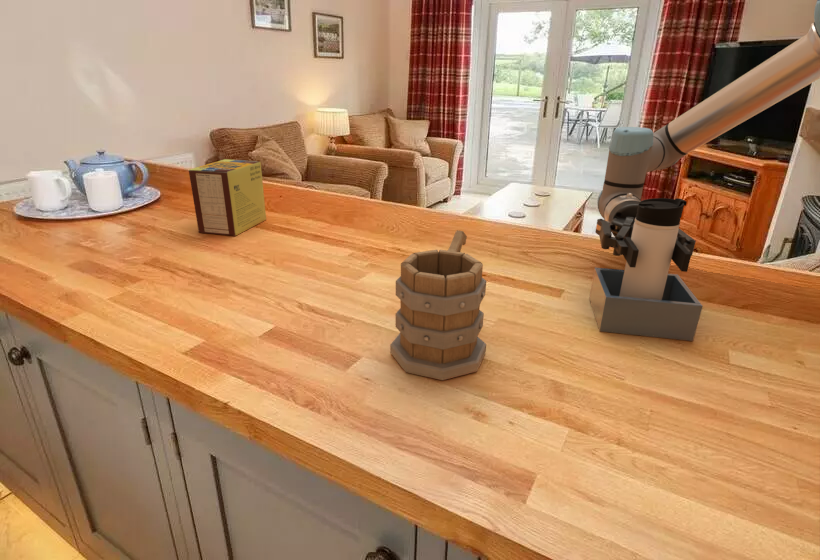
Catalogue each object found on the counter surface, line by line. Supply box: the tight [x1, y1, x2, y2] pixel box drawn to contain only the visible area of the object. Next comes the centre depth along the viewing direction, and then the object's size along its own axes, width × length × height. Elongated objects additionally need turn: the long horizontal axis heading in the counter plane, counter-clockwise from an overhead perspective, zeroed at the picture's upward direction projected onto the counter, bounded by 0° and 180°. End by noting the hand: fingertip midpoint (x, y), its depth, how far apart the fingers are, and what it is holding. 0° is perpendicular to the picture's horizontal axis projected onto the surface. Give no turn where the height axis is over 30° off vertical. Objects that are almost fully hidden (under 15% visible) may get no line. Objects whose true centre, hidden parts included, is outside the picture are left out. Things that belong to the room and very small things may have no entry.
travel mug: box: [619, 197, 688, 300], centre depth 78 cm, size 6×7×20 cm
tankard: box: [389, 229, 487, 381], centre depth 70 cm, size 20×13×15 cm, turn 160°
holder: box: [588, 267, 703, 342], centre depth 80 cm, size 14×13×6 cm
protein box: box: [188, 158, 267, 237], centre depth 123 cm, size 10×15×16 cm
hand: (660, 260), depth 72 cm, fingers closed on travel mug, 6 cm apart
